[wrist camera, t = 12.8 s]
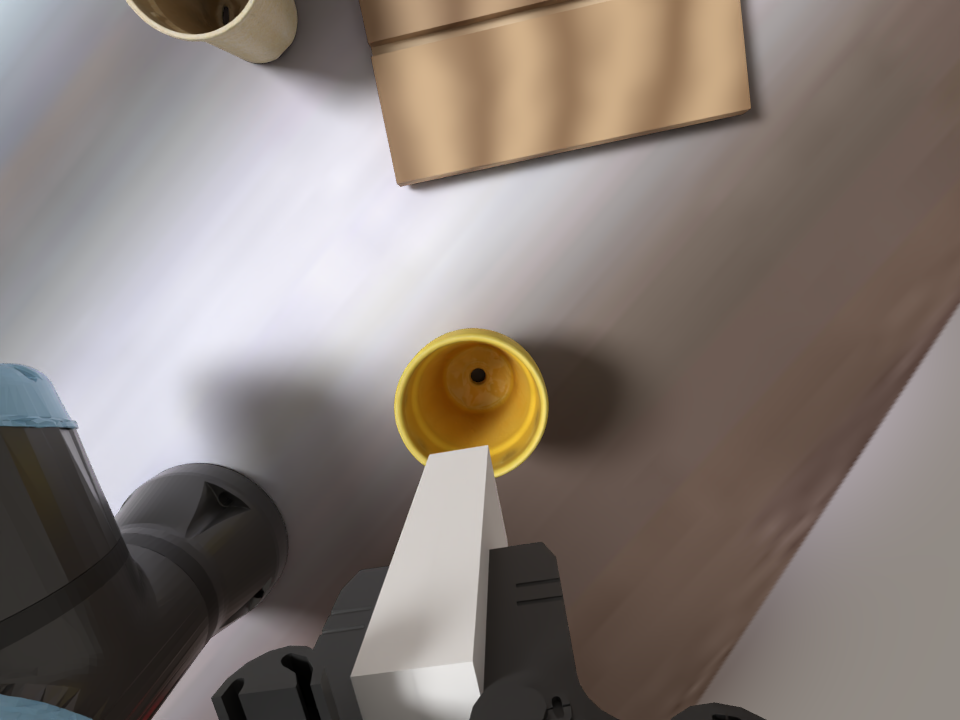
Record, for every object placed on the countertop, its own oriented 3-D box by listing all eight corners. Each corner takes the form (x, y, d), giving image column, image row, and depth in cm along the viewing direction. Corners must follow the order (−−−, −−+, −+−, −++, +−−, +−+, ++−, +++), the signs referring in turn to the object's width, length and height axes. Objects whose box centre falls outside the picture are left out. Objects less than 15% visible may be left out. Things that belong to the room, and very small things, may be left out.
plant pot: (420, 309, 41) (395, 327, 32) (544, 319, 41) (557, 340, 31) (415, 426, 43) (390, 476, 34) (532, 436, 43) (541, 490, 34)
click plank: (400, 186, 38) (397, 183, 37) (375, 64, 37) (370, 56, 36) (743, 114, 36) (750, 108, 35) (729, -19, 35) (737, -30, 34)
